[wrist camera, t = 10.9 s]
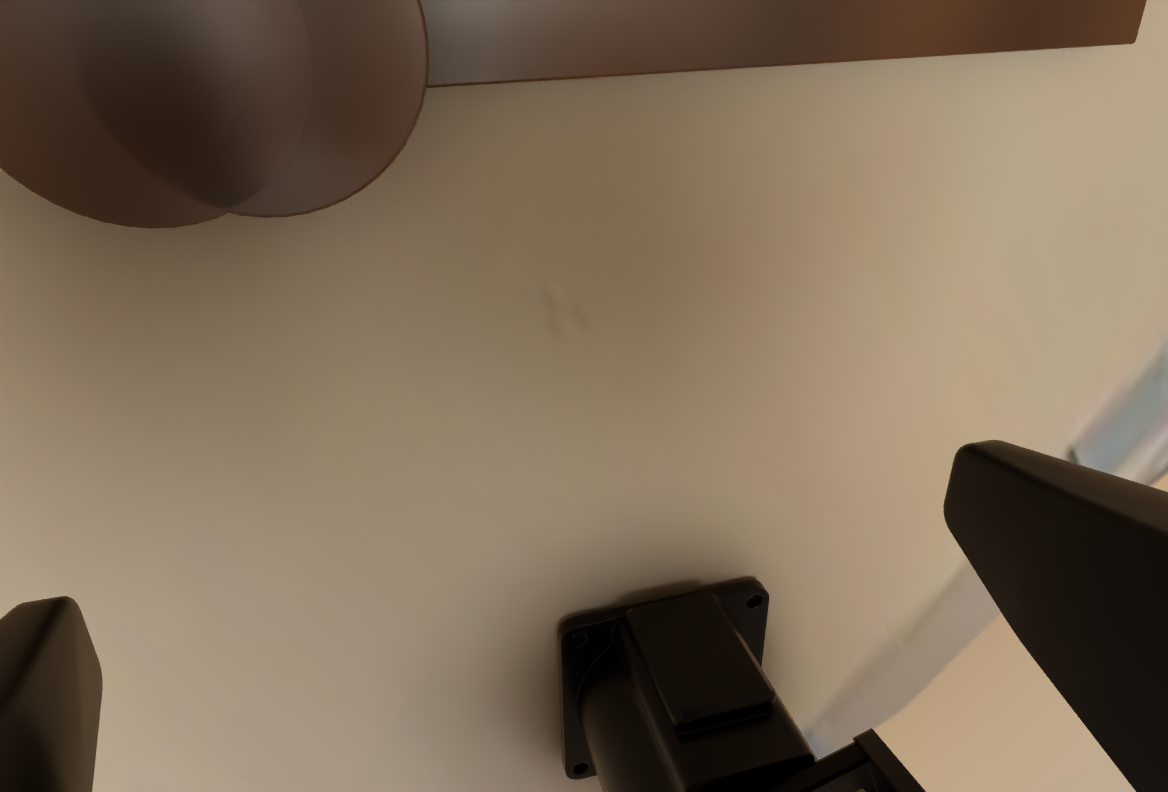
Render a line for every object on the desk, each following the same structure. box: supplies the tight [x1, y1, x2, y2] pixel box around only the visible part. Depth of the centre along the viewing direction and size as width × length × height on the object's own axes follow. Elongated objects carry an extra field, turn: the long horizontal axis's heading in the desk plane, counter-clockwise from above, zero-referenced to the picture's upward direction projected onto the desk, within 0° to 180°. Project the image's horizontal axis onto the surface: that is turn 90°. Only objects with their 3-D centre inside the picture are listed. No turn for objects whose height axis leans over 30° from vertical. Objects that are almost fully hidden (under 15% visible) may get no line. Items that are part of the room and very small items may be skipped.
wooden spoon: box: [0, 0, 1146, 229], centre depth 18 cm, size 24×6×2 cm, turn 90°
